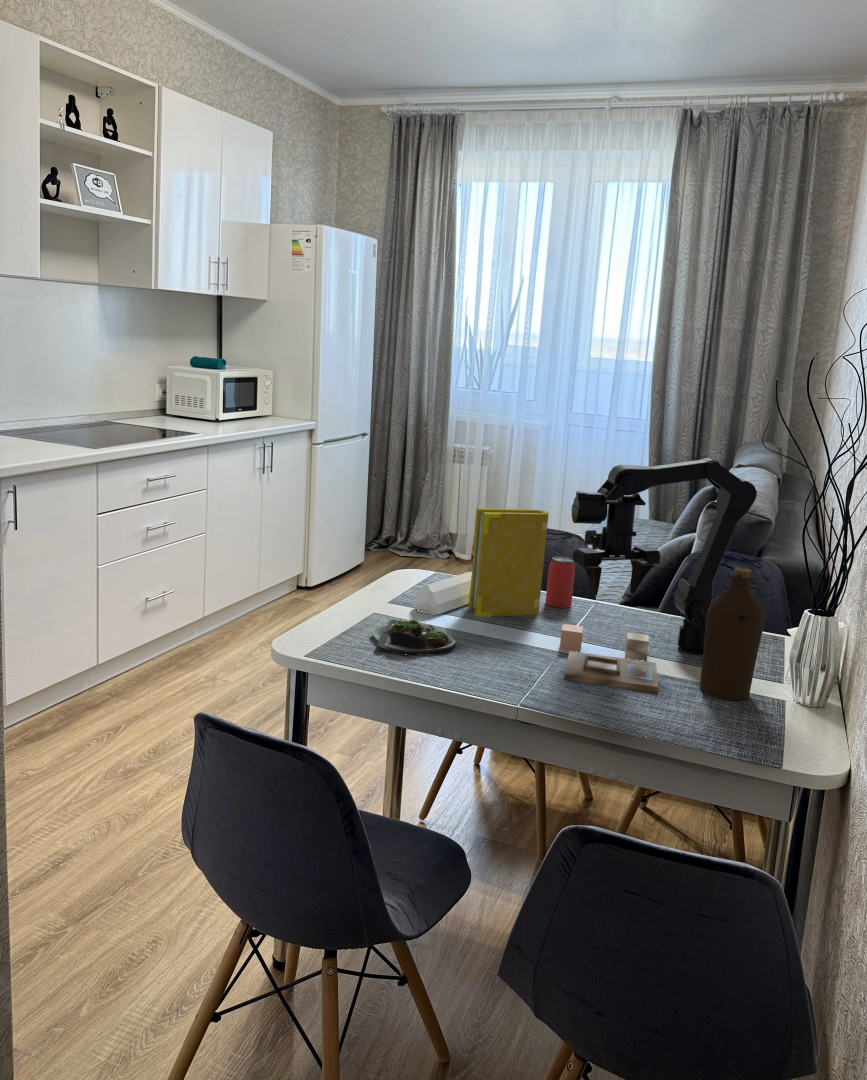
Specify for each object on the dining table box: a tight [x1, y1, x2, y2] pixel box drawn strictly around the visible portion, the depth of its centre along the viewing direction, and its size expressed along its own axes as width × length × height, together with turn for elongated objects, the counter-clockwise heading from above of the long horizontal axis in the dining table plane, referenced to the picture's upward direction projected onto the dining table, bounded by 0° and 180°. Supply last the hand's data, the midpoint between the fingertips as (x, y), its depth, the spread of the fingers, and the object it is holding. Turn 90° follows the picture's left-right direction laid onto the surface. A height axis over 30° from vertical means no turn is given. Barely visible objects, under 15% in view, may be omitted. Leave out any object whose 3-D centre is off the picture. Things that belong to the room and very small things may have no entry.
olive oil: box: [699, 566, 765, 701], centre depth 173 cm, size 11×11×25 cm
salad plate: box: [371, 618, 457, 656], centre depth 192 cm, size 19×18×5 cm
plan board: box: [563, 651, 659, 694], centre depth 180 cm, size 18×14×2 cm
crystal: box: [413, 570, 472, 616], centre depth 219 cm, size 7×7×24 cm
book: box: [467, 507, 550, 618], centre depth 214 cm, size 17×7×25 cm, turn 105°
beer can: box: [545, 556, 576, 609], centre depth 225 cm, size 7×7×12 cm
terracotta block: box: [559, 623, 584, 652], centre depth 194 cm, size 4×4×4 cm
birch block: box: [624, 632, 650, 662], centre depth 192 cm, size 4×4×4 cm
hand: (613, 594), depth 195 cm, fingers open, 9 cm apart
